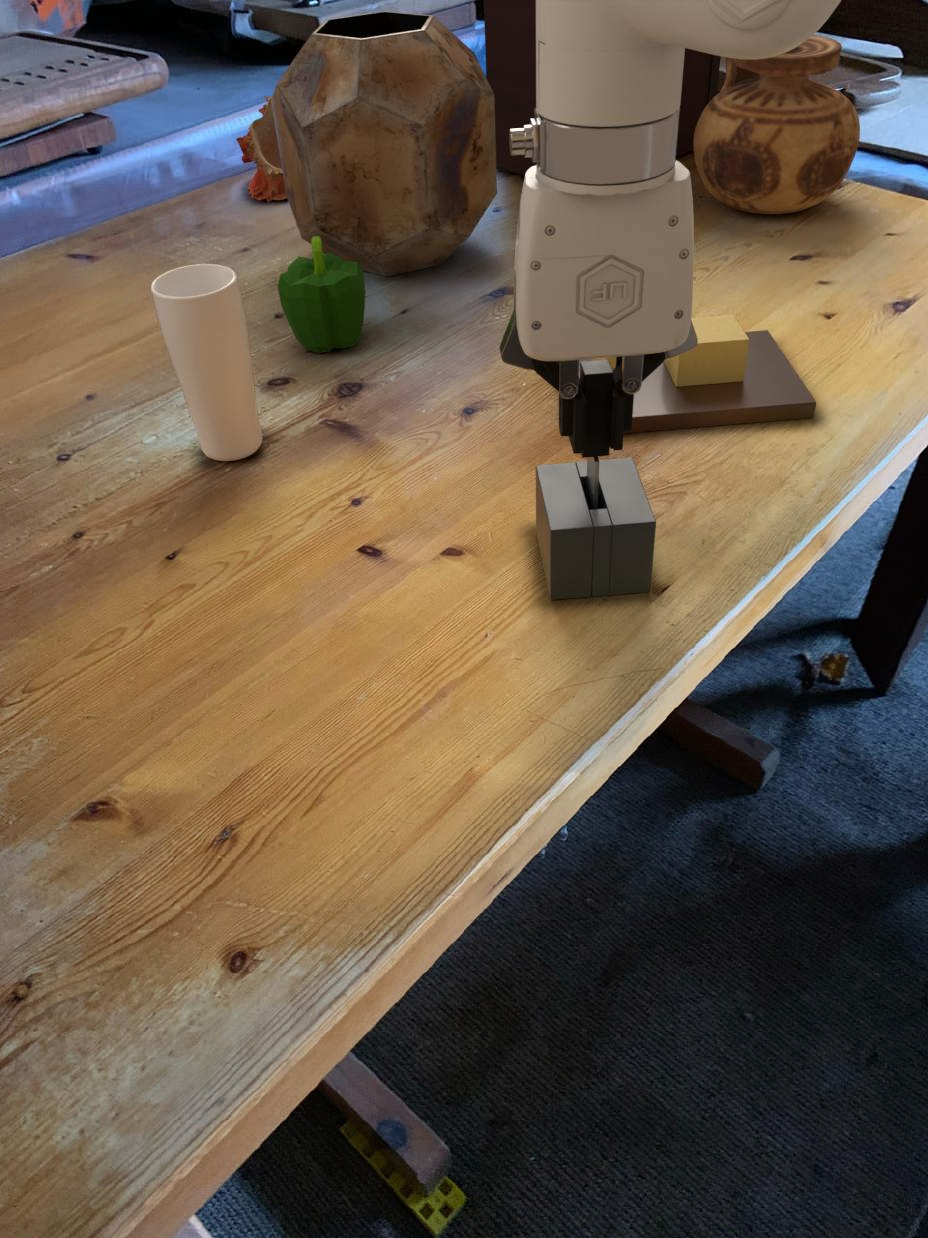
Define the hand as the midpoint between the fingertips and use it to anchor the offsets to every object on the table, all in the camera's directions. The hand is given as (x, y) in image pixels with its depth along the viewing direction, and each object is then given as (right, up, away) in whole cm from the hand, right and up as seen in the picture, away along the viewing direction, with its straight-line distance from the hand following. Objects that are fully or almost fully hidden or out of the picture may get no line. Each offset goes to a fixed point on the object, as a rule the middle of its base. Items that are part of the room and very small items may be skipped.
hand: (594, 439), depth 66 cm
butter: (+13, +10, +24) cm, 29 cm away
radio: (+10, +53, +76) cm, 93 cm away
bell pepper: (-22, +16, +36) cm, 45 cm away
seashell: (-31, +49, +74) cm, 94 cm away
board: (+11, +9, +25) cm, 29 cm away
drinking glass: (-29, +3, +21) cm, 36 cm away
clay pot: (+29, +40, +59) cm, 76 cm away
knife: (0, -7, +6) cm, 9 cm away
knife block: (+1, -8, +7) cm, 10 cm away
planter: (-17, +31, +53) cm, 63 cm away
